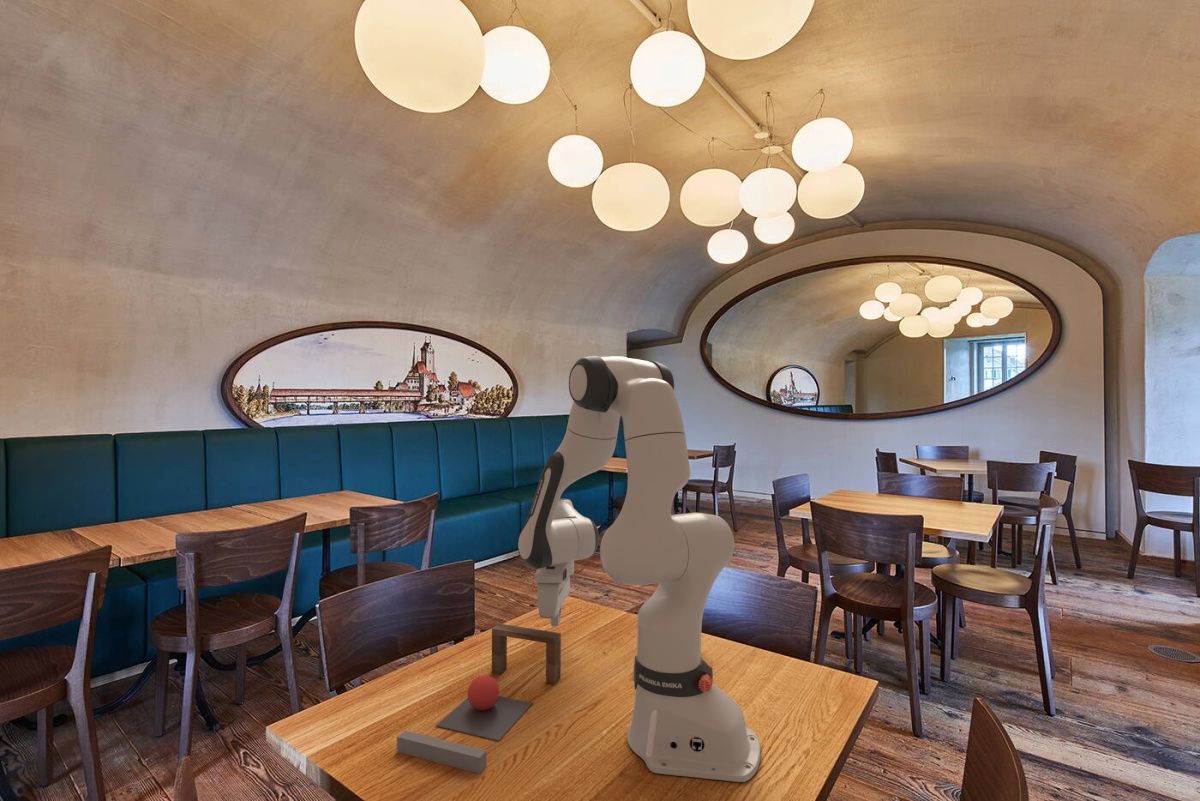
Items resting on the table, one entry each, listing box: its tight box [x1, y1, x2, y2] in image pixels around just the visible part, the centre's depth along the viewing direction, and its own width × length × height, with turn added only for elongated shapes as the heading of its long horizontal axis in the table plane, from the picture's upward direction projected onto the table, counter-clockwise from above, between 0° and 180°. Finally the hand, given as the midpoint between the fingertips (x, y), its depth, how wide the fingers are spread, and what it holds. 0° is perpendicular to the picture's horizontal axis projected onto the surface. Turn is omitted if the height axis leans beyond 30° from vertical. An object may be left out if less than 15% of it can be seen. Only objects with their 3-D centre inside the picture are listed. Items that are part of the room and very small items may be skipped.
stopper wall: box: [396, 730, 487, 774], centre depth 92 cm, size 16×2×2 cm, turn 70°
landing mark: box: [435, 695, 534, 742], centre depth 105 cm, size 13×13×1 cm
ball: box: [466, 675, 500, 711], centre depth 107 cm, size 6×6×6 cm
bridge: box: [491, 623, 562, 686], centre depth 120 cm, size 3×15×10 cm, turn 70°
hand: (555, 624), depth 134 cm, fingers closed
